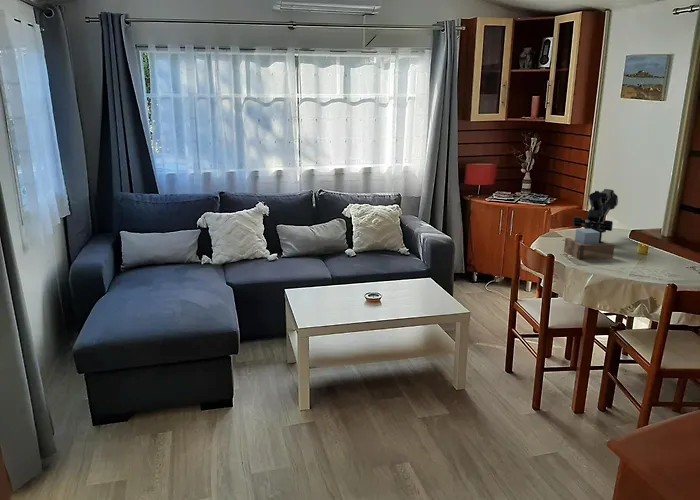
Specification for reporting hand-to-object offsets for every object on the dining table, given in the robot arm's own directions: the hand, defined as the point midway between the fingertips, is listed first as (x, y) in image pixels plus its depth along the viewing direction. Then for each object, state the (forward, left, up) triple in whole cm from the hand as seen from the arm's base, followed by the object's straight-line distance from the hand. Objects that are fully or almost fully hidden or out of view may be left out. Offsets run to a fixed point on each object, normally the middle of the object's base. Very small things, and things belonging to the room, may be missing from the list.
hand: (589, 237), depth 288 cm
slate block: (+7, -6, -7) cm, 11 cm away
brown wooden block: (+9, -5, -7) cm, 12 cm away
